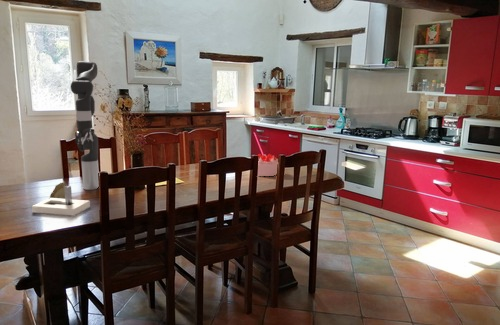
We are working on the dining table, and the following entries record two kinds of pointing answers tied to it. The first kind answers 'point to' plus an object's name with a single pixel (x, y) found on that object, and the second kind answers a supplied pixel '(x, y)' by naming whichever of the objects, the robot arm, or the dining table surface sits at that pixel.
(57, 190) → the rock
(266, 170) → the cake
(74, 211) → the keyhole board
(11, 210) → the dining table surface
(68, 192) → the bolt
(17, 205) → the dining table surface
